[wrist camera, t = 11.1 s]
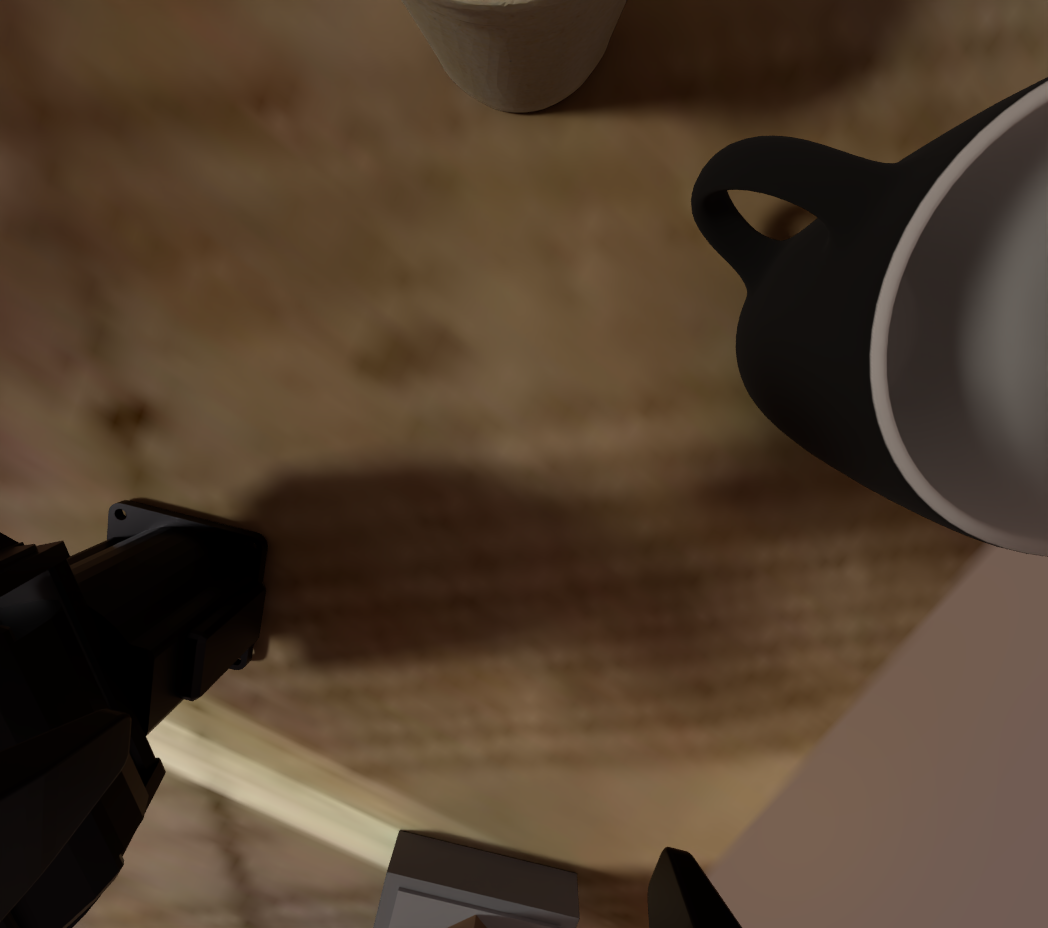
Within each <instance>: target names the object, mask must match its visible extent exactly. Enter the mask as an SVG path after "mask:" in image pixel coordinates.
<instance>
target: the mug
mask: <svg viewBox="0 0 1048 928" xmlns="http://www.w3.org/2000/svg"><path fill="white" fill-rule="evenodd" d="M727 190H748V191H754V192H759V193H764V194H767V195H771V196H774V197H777V198H780V199H783V200H786V201H788V202H791V203H793V204H795V205H797V206H800V207H802V208H804V209H806V210H807V211H809V212H811V213H812V214H814V215H815V216H816V217H817V219H816V220H815V221H813V222H812V223H811V224H810V225H808V226H807V227H806V228H805V229H803V230H802V231H801V232H799V233H798V234H796V235H795V236H793V237H791V238H789V239H787V240H783V241H779V240H774V239H771V238H769V237H766V236H764V235H762V234H761V233H759V232H758V231H756V230H755V229H754V228H753V227H752V226H751V225H750V224H749V223H748V222H747V221H746V220H745V219H744V218H743V217H742V215H741V214H740V213H739V212H738V210H737V209H736V207H735V206H734V204H733V203H732V201H731V199H730V197H729V194H728V192H727ZM691 206H692V214H693V217H694V220H695V222H696V224H697V226H698V228H699V230H700V231H701V233H702V234H703V236H704V237H705V238H706V240H707V241H708V242H709V243H710V245H711V246H712V247H713V248H714V249H715V250H716V251H717V252H718V253H719V254H720V255H721V256H722V257H723V258H724V259H725V260H726V261H727V262H728V263H729V264H730V265H731V266H732V267H733V268H734V270H735V271H736V272H737V273H738V274H739V276H740V277H741V278H742V280H743V282H744V283H745V286H746V288H747V298H746V300H745V303H744V305H743V308H742V311H741V314H740V317H739V322H738V326H737V334H736V357H737V363H738V368H739V371H740V375H741V378H742V380H743V383H744V385H745V387H746V389H747V391H748V393H749V395H750V397H751V398H752V399H753V401H754V402H755V404H756V405H757V406H758V408H759V409H760V410H761V411H762V412H763V414H764V415H765V416H766V417H767V418H768V419H769V420H770V421H771V422H772V423H773V424H774V425H775V426H776V427H777V428H779V429H780V430H781V431H782V432H783V433H784V434H786V435H787V436H788V437H790V438H791V439H792V440H794V441H795V442H796V443H797V444H799V445H800V446H801V447H803V448H804V449H806V450H807V451H808V452H810V453H811V454H813V455H814V456H816V457H817V458H819V459H820V460H822V461H824V462H825V463H827V464H828V465H830V466H832V467H833V468H835V469H837V470H838V471H840V472H842V473H843V474H845V475H847V476H848V477H850V478H852V479H853V480H855V481H857V482H858V483H860V484H862V485H864V486H865V487H867V488H869V489H871V490H873V491H874V492H876V493H878V494H880V495H882V496H884V497H885V498H887V499H889V500H891V501H893V502H895V503H897V504H899V505H901V506H903V507H905V508H907V509H909V510H911V511H913V512H915V513H917V514H919V515H921V516H923V517H925V518H927V519H930V520H932V521H934V522H936V523H938V524H940V525H942V526H945V527H947V528H949V529H952V530H954V531H956V532H959V533H961V534H964V535H966V536H969V537H971V538H974V539H976V540H979V541H982V542H985V543H988V544H991V545H994V546H997V547H1001V548H1005V549H1009V550H1013V551H1018V552H1022V553H1026V554H1033V555H1040V556H1047V557H1048V77H1047V78H1045V79H1043V80H1041V81H1039V82H1037V83H1035V84H1033V85H1031V86H1029V87H1027V88H1025V89H1023V90H1021V91H1019V92H1017V93H1015V94H1013V95H1012V96H1010V97H1008V98H1006V99H1004V100H1002V101H1000V102H998V103H996V104H995V105H993V106H991V107H989V108H987V109H986V110H984V111H982V112H980V113H979V114H977V115H975V116H973V117H972V118H970V119H968V120H966V121H965V122H963V123H961V124H960V125H958V126H956V127H955V128H953V129H951V130H950V131H948V132H946V133H945V134H943V135H941V136H940V137H938V138H936V139H935V140H933V141H931V142H930V143H928V144H926V145H925V146H923V147H921V148H920V149H918V150H917V151H915V152H913V153H912V154H910V155H909V156H907V157H905V158H904V159H902V160H901V161H899V162H898V163H881V162H877V161H872V160H868V159H865V158H862V157H858V156H855V155H852V154H849V153H846V152H843V151H841V150H837V149H834V148H831V147H828V146H825V145H822V144H819V143H815V142H811V141H808V140H803V139H798V138H793V137H784V136H758V137H753V138H747V139H744V140H740V141H738V142H735V143H732V144H730V145H728V146H726V147H725V148H723V149H722V150H720V151H719V152H718V153H717V154H715V155H714V156H713V157H712V158H711V159H710V161H709V162H708V163H707V164H706V165H705V167H704V168H703V169H702V171H701V173H700V175H699V177H698V178H697V181H696V183H695V185H694V188H693V192H692V197H691Z"/></svg>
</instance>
